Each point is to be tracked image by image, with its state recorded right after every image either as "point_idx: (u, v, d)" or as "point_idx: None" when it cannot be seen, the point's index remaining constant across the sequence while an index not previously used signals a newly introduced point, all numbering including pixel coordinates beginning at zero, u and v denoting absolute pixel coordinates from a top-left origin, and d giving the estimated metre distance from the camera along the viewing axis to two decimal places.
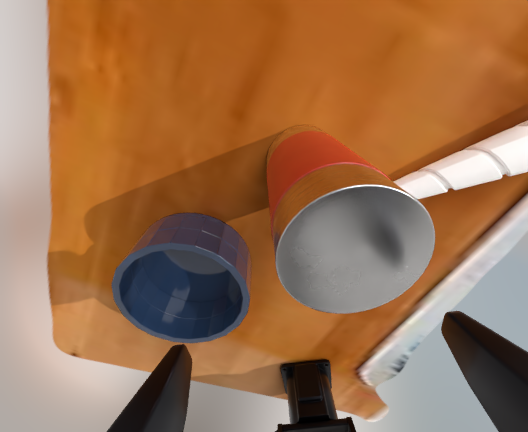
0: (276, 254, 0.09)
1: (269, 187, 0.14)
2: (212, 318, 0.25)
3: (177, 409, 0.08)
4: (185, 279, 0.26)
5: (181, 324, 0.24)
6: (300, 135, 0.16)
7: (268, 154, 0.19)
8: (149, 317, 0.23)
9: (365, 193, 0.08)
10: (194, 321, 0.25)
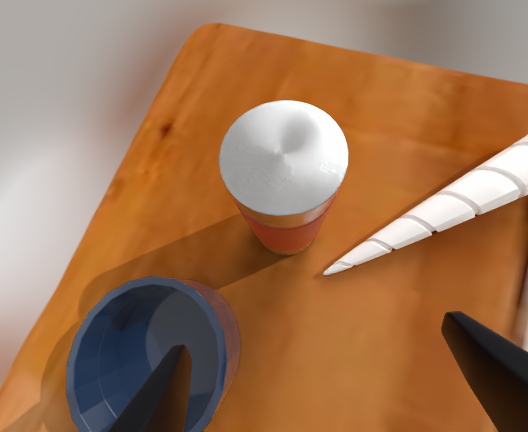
0: (220, 156, 0.12)
1: None
2: None
3: (177, 409, 0.08)
4: None
5: None
6: None
7: None
8: (95, 412, 0.17)
9: (277, 105, 0.12)
10: None
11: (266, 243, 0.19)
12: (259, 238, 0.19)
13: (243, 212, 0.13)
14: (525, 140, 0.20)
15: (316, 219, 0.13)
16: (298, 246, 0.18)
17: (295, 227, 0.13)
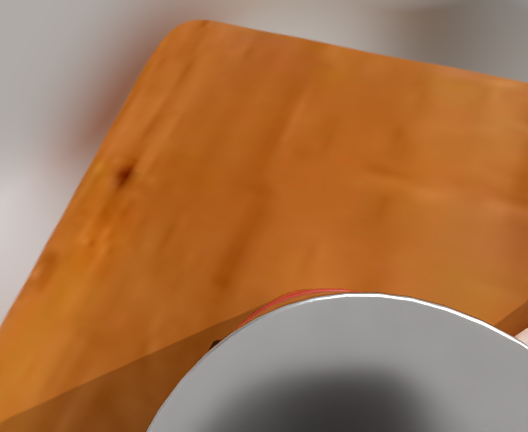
0: None
1: None
2: None
3: None
4: None
5: None
6: None
7: None
8: None
9: (352, 320, 0.03)
10: None
11: None
12: None
13: None
14: None
15: None
16: None
17: None
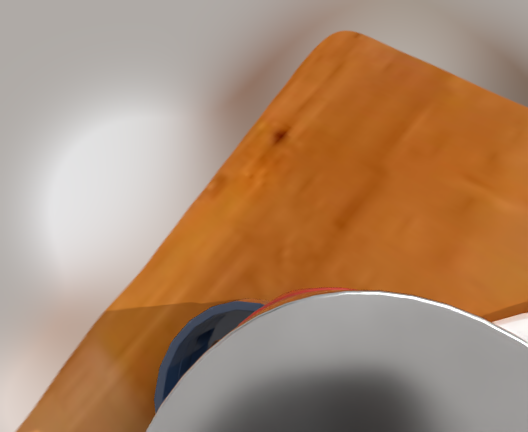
0: None
1: None
2: None
3: None
4: None
5: None
6: None
7: None
8: None
9: (352, 317, 0.03)
10: None
11: None
12: None
13: None
14: None
15: None
16: None
17: None
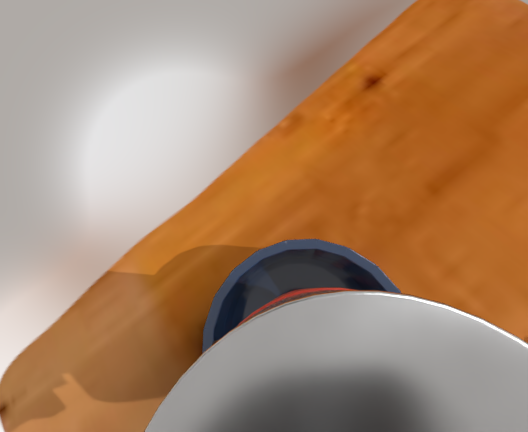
0: None
1: None
2: None
3: None
4: None
5: None
6: (287, 292, 0.12)
7: None
8: None
9: (351, 318, 0.03)
10: None
11: None
12: None
13: None
14: None
15: None
16: None
17: None
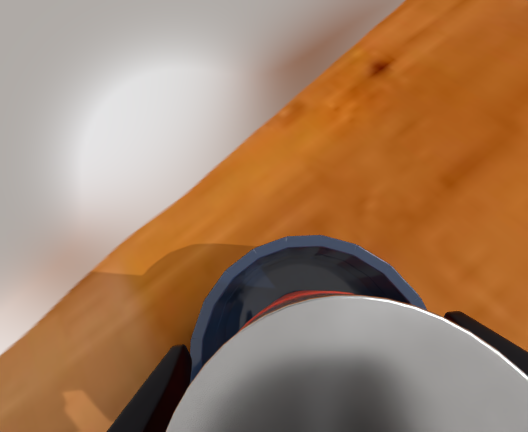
0: None
1: None
2: None
3: None
4: None
5: None
6: None
7: None
8: None
9: (340, 317, 0.04)
10: None
11: None
12: None
13: None
14: None
15: None
16: None
17: None
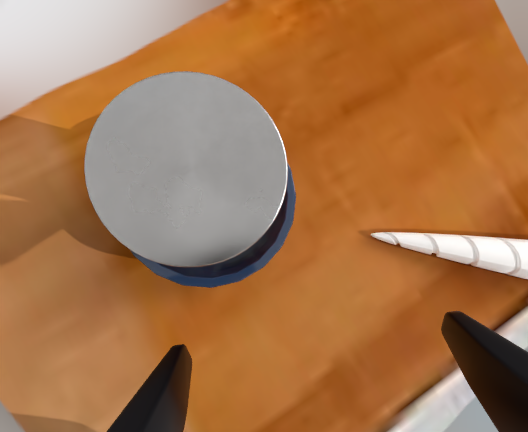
0: (88, 148, 0.07)
1: None
2: (193, 269, 0.17)
3: (177, 409, 0.08)
4: None
5: None
6: None
7: None
8: None
9: (200, 82, 0.07)
10: None
11: None
12: None
13: None
14: None
15: None
16: None
17: None
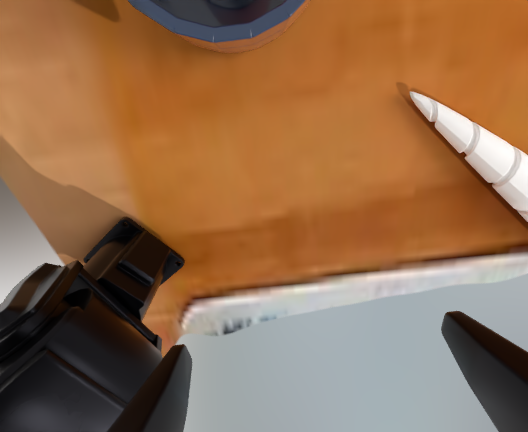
0: None
1: None
2: None
3: (177, 409, 0.08)
4: None
5: None
6: None
7: None
8: None
9: None
10: None
11: None
12: None
13: None
14: None
15: None
16: None
17: None
